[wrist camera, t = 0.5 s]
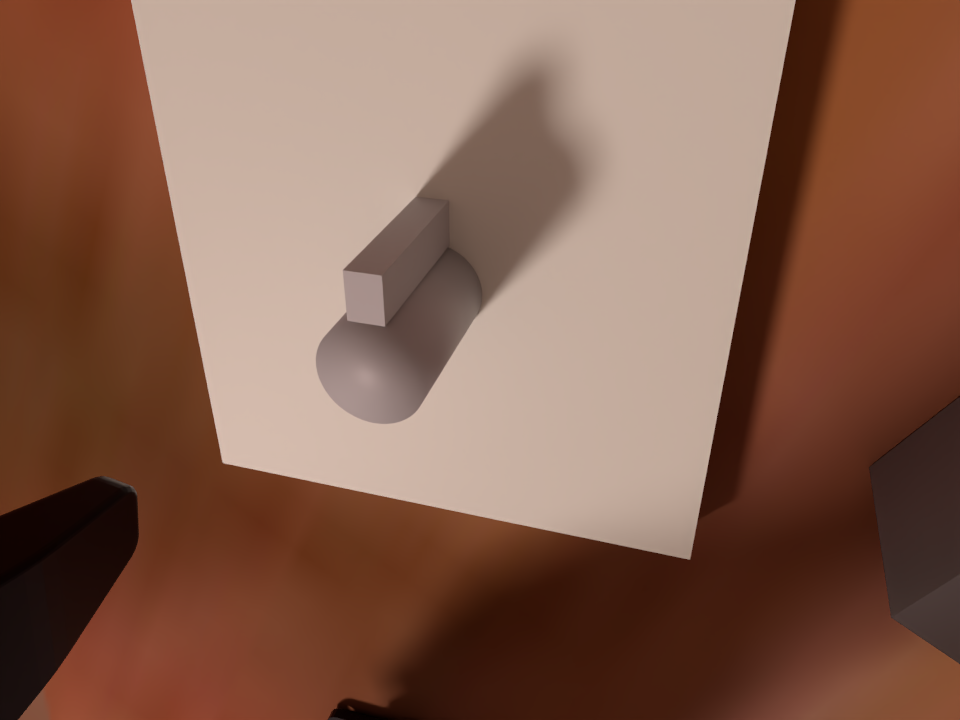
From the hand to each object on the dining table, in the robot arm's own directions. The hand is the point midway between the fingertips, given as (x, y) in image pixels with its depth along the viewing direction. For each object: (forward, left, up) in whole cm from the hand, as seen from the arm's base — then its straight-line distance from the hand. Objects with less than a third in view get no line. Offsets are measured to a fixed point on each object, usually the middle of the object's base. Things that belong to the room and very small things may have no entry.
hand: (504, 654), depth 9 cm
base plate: (-2, +5, -13) cm, 14 cm away
